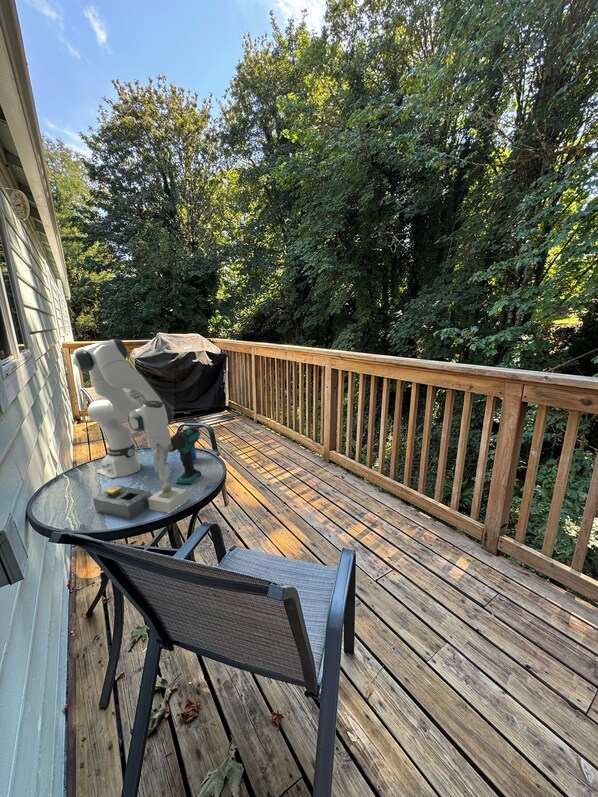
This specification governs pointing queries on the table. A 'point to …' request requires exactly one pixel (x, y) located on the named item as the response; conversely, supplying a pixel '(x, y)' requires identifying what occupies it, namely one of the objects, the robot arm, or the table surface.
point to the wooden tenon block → (113, 490)
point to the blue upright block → (193, 452)
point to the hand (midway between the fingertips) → (163, 472)
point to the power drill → (186, 453)
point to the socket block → (123, 503)
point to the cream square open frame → (167, 500)
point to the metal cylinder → (165, 481)
